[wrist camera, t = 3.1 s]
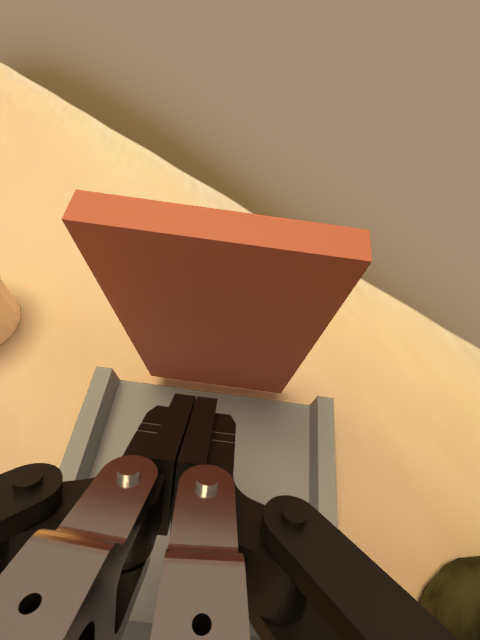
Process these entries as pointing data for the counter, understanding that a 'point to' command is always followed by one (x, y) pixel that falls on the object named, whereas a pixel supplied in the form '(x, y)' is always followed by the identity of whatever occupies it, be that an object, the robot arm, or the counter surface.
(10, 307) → the tan cylinder
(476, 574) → the green water bottle
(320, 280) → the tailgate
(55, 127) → the counter surface
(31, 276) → the counter surface
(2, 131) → the counter surface
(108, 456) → the tray
